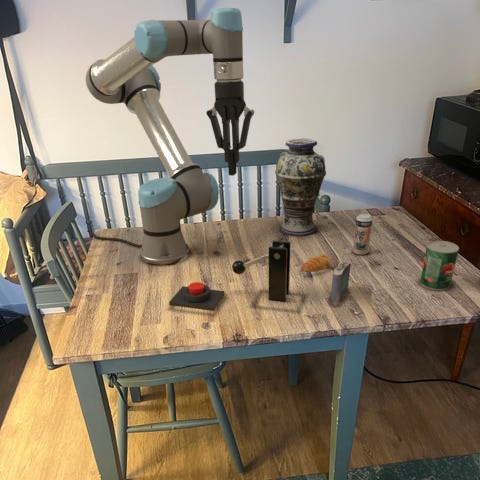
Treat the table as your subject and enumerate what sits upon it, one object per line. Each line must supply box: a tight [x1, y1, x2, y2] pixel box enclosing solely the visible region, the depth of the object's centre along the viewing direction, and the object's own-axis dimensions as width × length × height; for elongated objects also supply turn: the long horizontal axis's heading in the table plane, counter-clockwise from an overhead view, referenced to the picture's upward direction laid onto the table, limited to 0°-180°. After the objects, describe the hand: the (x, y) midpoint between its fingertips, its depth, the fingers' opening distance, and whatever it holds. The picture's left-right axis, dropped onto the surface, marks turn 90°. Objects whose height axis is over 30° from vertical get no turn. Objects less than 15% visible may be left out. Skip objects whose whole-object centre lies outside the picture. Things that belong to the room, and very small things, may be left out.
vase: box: [274, 138, 327, 237], centre depth 157 cm, size 17×17×30 cm
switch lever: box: [231, 244, 285, 275], centre depth 117 cm, size 15×4×4 cm, turn 74°
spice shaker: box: [352, 213, 373, 256], centre depth 143 cm, size 5×5×12 cm
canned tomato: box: [419, 240, 460, 291], centre depth 124 cm, size 8×8×11 cm
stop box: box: [168, 284, 226, 312], centre depth 121 cm, size 12×9×4 cm
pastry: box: [300, 254, 333, 273], centre depth 136 cm, size 9×7×4 cm
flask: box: [330, 259, 352, 303], centre depth 119 cm, size 9×3×11 cm, turn 151°
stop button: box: [187, 281, 205, 295], centre depth 119 cm, size 4×4×2 cm
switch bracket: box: [268, 240, 292, 303], centre depth 118 cm, size 12×9×16 cm
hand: (232, 174), depth 131 cm, fingers closed
